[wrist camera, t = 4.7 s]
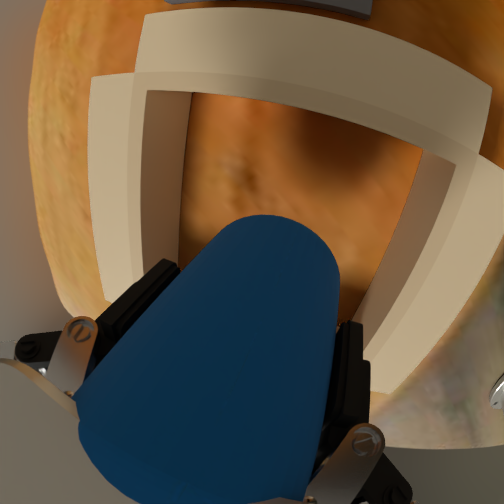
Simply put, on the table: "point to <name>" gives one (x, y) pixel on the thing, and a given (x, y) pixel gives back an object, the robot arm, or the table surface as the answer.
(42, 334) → the robot arm
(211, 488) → the beverage can
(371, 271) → the table surface
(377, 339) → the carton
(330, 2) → the mat
